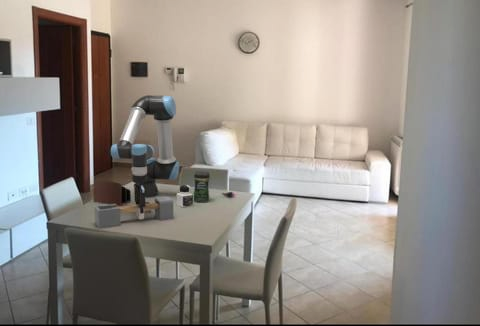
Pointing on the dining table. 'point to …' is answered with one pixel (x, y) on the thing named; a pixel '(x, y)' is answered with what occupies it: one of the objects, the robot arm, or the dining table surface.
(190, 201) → the medicine bottle
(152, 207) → the slat
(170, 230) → the dining table surface
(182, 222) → the dining table surface
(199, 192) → the coffee jar
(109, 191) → the letter holder
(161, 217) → the frame
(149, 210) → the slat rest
